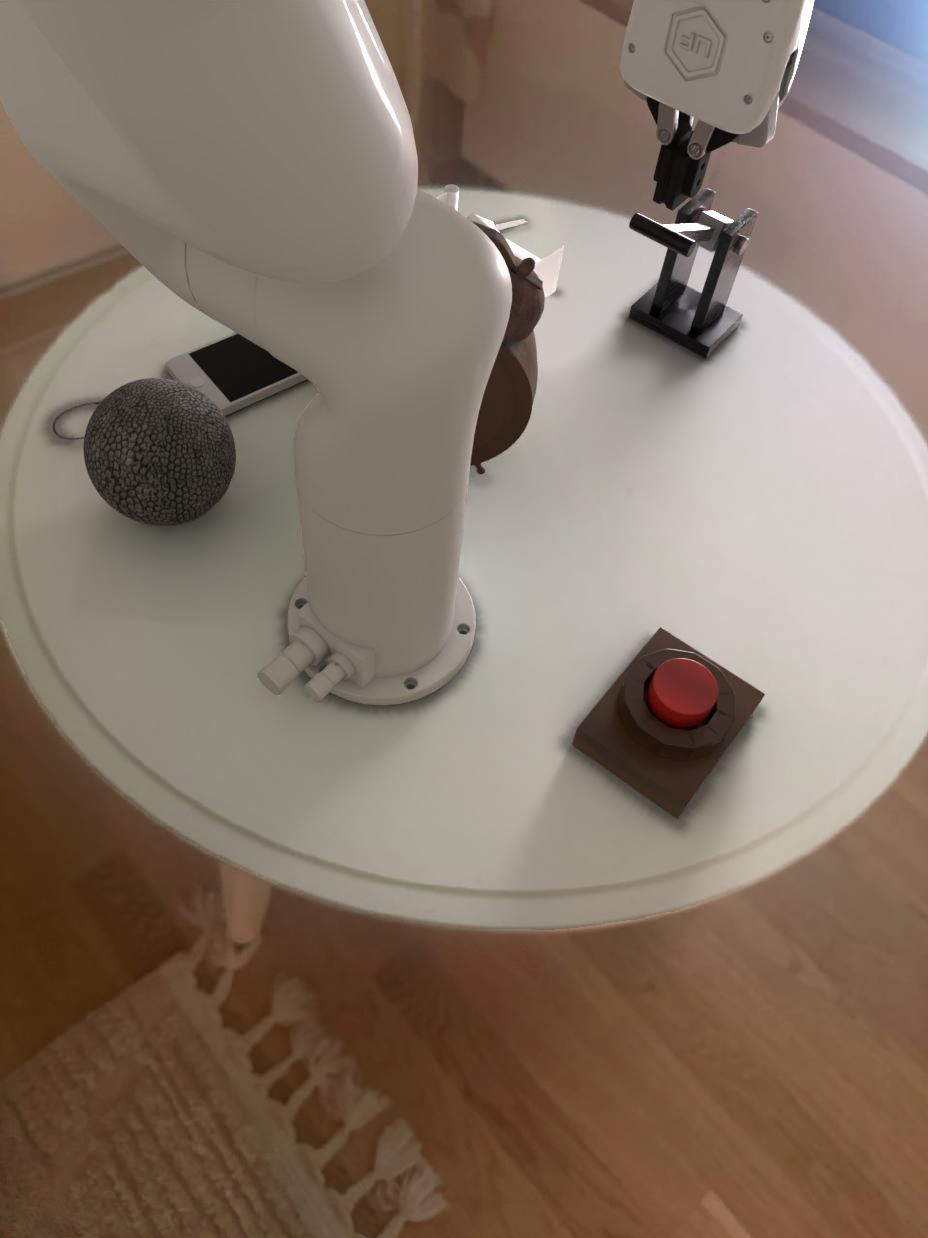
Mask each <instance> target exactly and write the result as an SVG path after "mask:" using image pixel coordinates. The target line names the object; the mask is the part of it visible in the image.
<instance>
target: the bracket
mask: <svg viewBox="0 0 928 1238" xmlns="http://www.w3.org/2000/svg"><path fill="white" fill-rule="evenodd" d="M715 195H716V191H714V190H712V189H710V188H708V187H704V188H703V189H701V191H700V190H699V192H698V193H697V194H696V195H695V196H694V197H693V198H690V200H688V201H686V203H685V204H683V206H681V207H680V208H679V209H677V213H676V216H675V220H674V223H673V224H692V223H697V221H698V218H699V216H700V214H701V212H702V211H711V208H712V205H713V202H714V199H715ZM758 216H759V212H758V211H756V210H754V209H752V208H749V207H748V208H746V209H745V210H744V211H743V212H742V213H741V214H740V215H738V216H737V217H736V218H735V219H734V220H733V222H732V223H731V224H730V225H729V226H727V227H726V228H725V229H724V230H723V231H722V232H721V235H720V238H719V241H718V244H717V247H716V251H715V252H714V254H713V257H712V260H711V263H710V265H709V270H708V272H707V275H706V278H705V281H704V285H703V288H702V290H701V291H699V290H697V289H695V288H693V287H691V286H690V285H688V283H689V279H690V276H691V274H692V271H693V267H694V263H695V260H696V256H697V255H698V251H699V248H700V246H698V245H696V246H695V249H694V251H693V253H692V254H691V255H690V256H689V257H685V256H683V255H681V254H679V253H677V252H675V251H673V250H671V249H669V248H667V247H666V252H665V256H664V260H663V264H662V266H661V269H660V273H659V276H658V277H659V278H658V281H657V282H656V284H654V285H653V286H652V287H651V288H650V289H648V290H647V292H645V293H644V294H643V295H642V296H641V297H639V298H638V299H637V300H636V301H635V302H634V303H633V304H632V305H631V306H630V309H629V313H628V318H629V319H631V320H634V321H635V322H637V323H639V324H641V325H643V326H645V327H647V328H648V329H650V330H652V331H654V332H655V333H657V334H659V335H662V336H663V337H665V338H666V339H669V340H671V341H672V342H674V343H676V344H678V345H680V346H682V347H683V348H686V349H687V350H689V351H691V352H693V353H695V354H696V355H698V356H700V357H702V358H704V359H707V358H708V357H709V356H710V355H711V354H712V353H713V352H714V351H715V350H716V349H717V348H718V347H719V346H720V345H721V344H722V343H723V342H724V341H725V340H726V339H727V338H728V337H729V336H730V335H731V334H732V333H733V332H734V331H735V330H736V329H737V328H738V327H739V326H740V325H741V322H742V319H743V316H744V314H743V313H741V312H739V311H738V310H736V309H733V307H730V306H728V305H727V304H728V300H729V298H730V296H731V292H732V290H733V287H734V284H735V281H736V278H737V276H738V272H739V269H740V266H741V264H742V261H743V259H744V255H745V252H746V250H747V247H748V245H749V243H750V238H751V236H752V233H753V230H754V227H755V224H756V222H757V218H758Z"/></svg>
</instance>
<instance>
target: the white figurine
mask: <svg viewBox="0 0 928 1238" xmlns="http://www.w3.org/2000/svg"><path fill="white" fill-rule="evenodd" d="M459 193H460V187H459V186H458V185H457V184H450V183H449V184H447V185H445V187H444V192H443V193H442V194H441V195H439V196H437V197H435V198H436V199H438V200H440V201H442V202H443V203H445V204H447V205H449V206H450V207H452V208H453V209H455V210H456V211H458V208H459ZM466 218H468V219H469V220H470V221H473V222H476V223H479V224H481V225H484V226H487V227H489V228H492V229H495V230H497V229H496V227H495V225H496V224H495V223H494V221H493V220H490V219H487V218H484V217H481V216H480V215H478V214H476V213H470V214H468V215H467V217H466ZM497 231H498V232H499V233H500V234H501V232H500V230H497ZM504 238H505V239H506V241H507V242H508V244H509V246H510V248H511V250H512V252H513V253H514V255H515V256H516V257H518V258H520V259H521V260H524V259H525V258H529V257H530V258H533V259H534V261H535V268H534V272H535V273H536V274H537V275H538V277H539V279H540V280H541V281H543V285H542V286H543V290H544V295H545V300H546V299H547V298H548V297H550V296H551V295H553V294H554V293H555V292H557V287H558V281H559V276H560V271H561V265H562V260H563V255H564V247H565V244H563V245H561V246H559V247H558V248H556V249H555V250H554V251H552V252H551V253H549V254H547V255H546V256H545V257H543V258H539V257H538V256H537V255H535V254H533V253H531V252H529V251H528V250H526V249H524V248H522V247H521V246H519V245H518V244H516V243H514V242H513V241H511V240H509V239H508V238H506V237H504Z"/></svg>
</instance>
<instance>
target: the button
mask: <svg viewBox="0 0 928 1238" xmlns="http://www.w3.org/2000/svg"><path fill="white" fill-rule="evenodd" d="M717 697H718V686H717V683H716V680H715V678H714V676H713V675H712V673H711V672H710V671H709V670H708V669H707V668H706V667H704V666H703V665H702V664H700V663H698V662H696V661H693V660H690V659H685V658H676V659H671V660H668V661H666V662H664V663H663V664H661V665H660V666H659V667H658V668H657V670H656V671H655V673H654V676H653V678H652V680H651V682H650V684H649V687H648V690H647V700H648V704H649V706H650V709H651V710H652V712H653V713H654V714H655V716H656V717H658V718H659V719H660V720H661V721H663V722H664V723H666V724H668V725H670V726H673V727H678V728H690V727H694V726H696V725H699V724H700V723H702V722H703V721H704V720H705V719H706V718H707V716H708V715H709V713H710V711H711V709H712V708H713V706H714V704H715V703H716V700H717Z"/></svg>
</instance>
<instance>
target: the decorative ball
mask: <svg viewBox="0 0 928 1238" xmlns="http://www.w3.org/2000/svg"><path fill="white" fill-rule="evenodd" d="M100 401H101V402H100V403H99V405H98V404H97V405H96V407H95V409H94V411H93V412H92V413H91V416H90V418H89V420H88V422H87V425H86V428H85V432H84V436H83V437H84V438H83V460H84V465H85V469H86V472H87V475H88V477H89V480H90V482H91V484H92V486H93V487H94V489H95V491H96V492H97V493H98V495H99V496H100V497H101V498H102V500H104V502H105V503H106V504H107V505H109V506H110V507H111V508H112V509H114V511H116V512H118V514H120V515H122V516H124V517H126V518H128V519H130V520H132V521H134V522H138V523H141V524H145V525H149V526H158V527H171V526H172V527H173V526H179V525H183V524H187V523H190V522H192V521H195V520H197V519H199V518H200V517H202V516H203V515H205V514H207V513H208V512H209V511H211V510H212V509H213V508H214V507H215V506H216V505H217V504H218V503H219V502H220V501H221V500H222V498H223V497H224V495H225V494H226V492H227V491H228V489H229V487H230V485H231V482H232V481H233V477H234V474H235V470H236V463H237V448H236V443H235V437H234V434H233V430H232V427H231V425H230V423H229V421H228V419H227V417H226V416H224V415H223V413H222V411H221V410H220V409H219V408H218V406H217V405H216V404H215V403H214V402H213V401H212V400H211V399H210V398H208V397H207V396H206V395H205V394H203V393H202V392H200V391H199V390H197V389H196V388H194V387H192V386H190V385H187V384H185V383H182V382H179V381H176V380H174V379H171V378H163V377H149V378H148V377H147V378H141V379H136V380H133V381H130V382H128V383H125V384H123V385H120V386H119V387H118V388H115V389H113V391H111V392H110V393H108V394H107V395H106V396H105V397H104V398H103V399H102V400H100Z"/></svg>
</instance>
